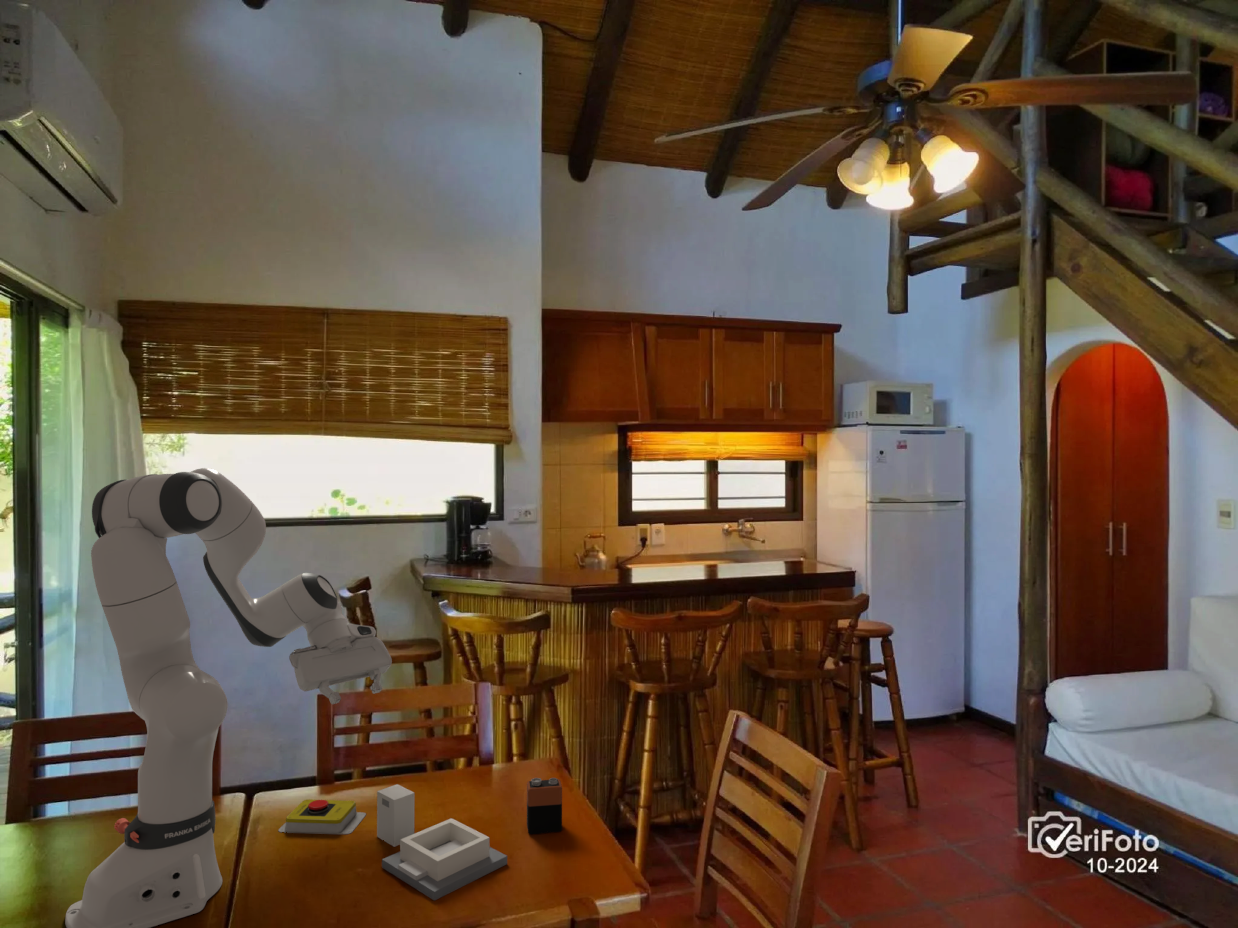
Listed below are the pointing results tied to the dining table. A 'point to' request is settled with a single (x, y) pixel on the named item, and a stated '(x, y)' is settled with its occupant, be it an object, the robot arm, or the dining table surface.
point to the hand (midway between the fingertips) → (357, 696)
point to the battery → (544, 806)
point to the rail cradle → (443, 858)
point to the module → (395, 814)
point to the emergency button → (323, 817)
